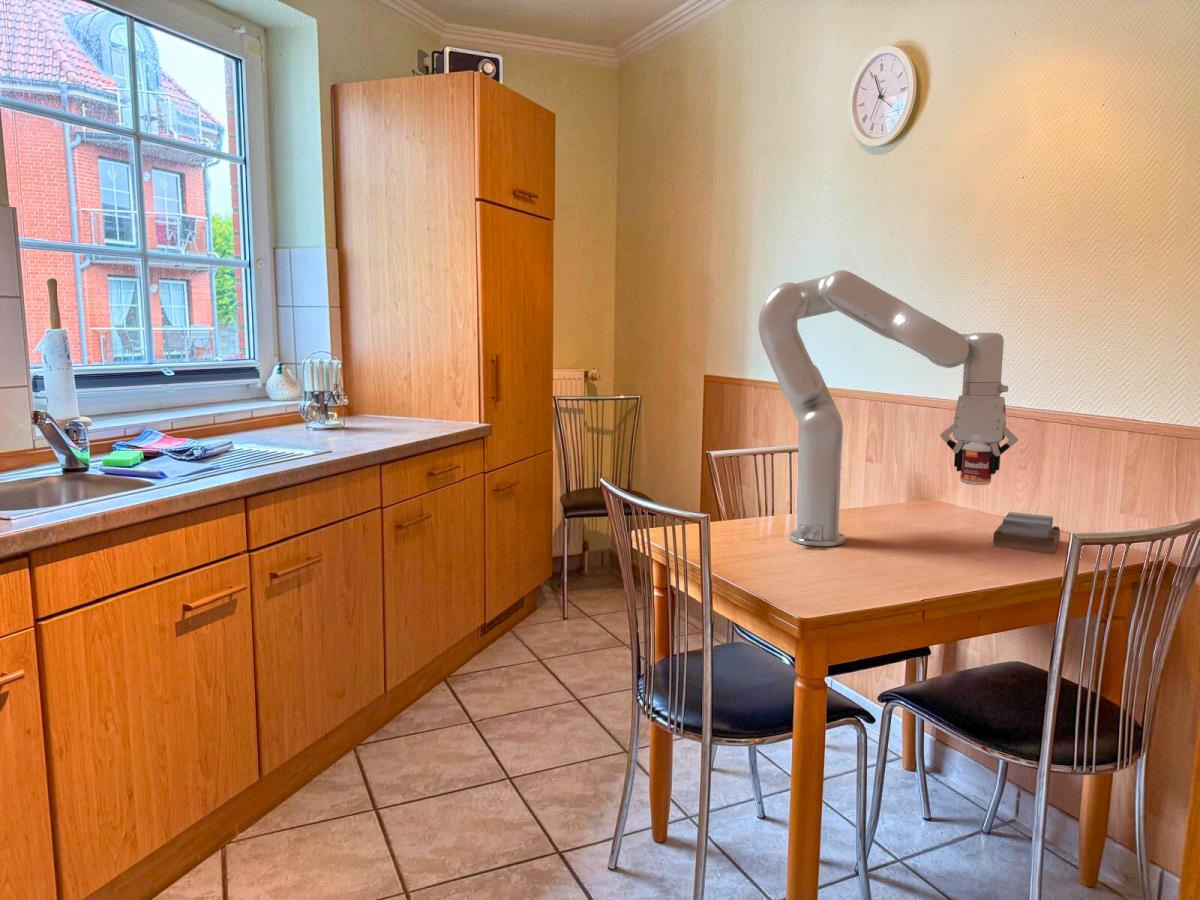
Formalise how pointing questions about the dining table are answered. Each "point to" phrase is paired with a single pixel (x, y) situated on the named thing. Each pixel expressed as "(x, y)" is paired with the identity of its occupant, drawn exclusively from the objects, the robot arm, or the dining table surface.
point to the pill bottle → (976, 462)
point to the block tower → (1027, 533)
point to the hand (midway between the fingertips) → (976, 471)
